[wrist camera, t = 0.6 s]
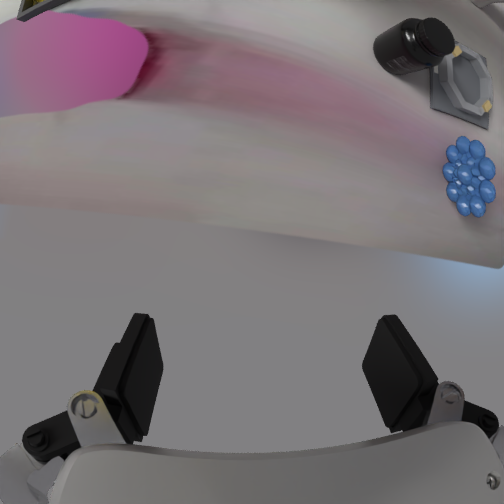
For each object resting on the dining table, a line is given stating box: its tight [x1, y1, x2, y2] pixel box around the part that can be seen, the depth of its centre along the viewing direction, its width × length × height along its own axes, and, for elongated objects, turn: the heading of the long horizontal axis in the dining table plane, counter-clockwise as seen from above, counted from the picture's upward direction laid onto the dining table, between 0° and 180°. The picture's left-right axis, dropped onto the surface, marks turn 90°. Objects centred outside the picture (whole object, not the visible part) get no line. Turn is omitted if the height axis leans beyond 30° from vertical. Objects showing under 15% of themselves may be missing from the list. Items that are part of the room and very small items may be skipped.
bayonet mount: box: [430, 41, 493, 129], centre depth 27 cm, size 14×14×4 cm
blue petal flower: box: [443, 136, 496, 217], centre depth 30 cm, size 12×7×12 cm, turn 176°
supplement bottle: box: [373, 18, 455, 75], centre depth 23 cm, size 7×7×12 cm
